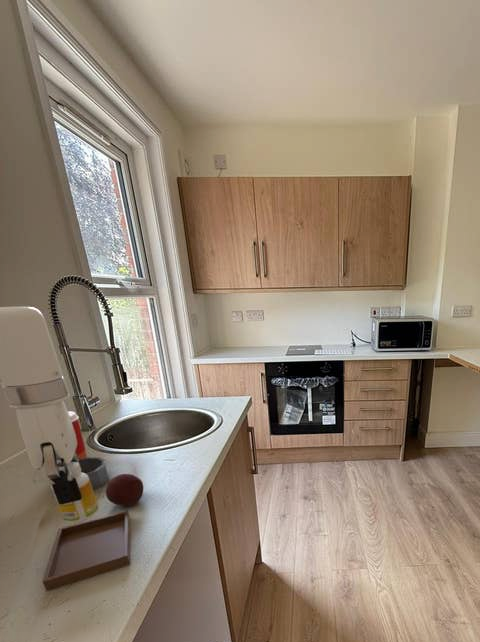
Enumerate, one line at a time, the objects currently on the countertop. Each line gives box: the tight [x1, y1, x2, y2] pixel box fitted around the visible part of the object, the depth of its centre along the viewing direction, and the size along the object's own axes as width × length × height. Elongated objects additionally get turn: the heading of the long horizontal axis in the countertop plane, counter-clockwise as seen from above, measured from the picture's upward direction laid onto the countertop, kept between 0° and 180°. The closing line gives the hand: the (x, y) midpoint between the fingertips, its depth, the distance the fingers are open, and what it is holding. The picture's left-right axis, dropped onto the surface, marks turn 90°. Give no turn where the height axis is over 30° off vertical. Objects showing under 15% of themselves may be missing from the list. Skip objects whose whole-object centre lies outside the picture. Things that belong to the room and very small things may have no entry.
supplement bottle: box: [50, 462, 99, 524], centre depth 60 cm, size 5×5×10 cm
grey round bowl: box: [79, 456, 111, 491], centre depth 87 cm, size 12×12×4 cm
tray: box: [42, 510, 131, 592], centre depth 65 cm, size 12×15×2 cm
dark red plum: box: [105, 473, 144, 507], centre depth 79 cm, size 7×8×7 cm
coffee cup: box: [67, 410, 88, 459], centre depth 94 cm, size 8×8×15 cm
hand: (73, 491), depth 60 cm, fingers closed on supplement bottle, 5 cm apart
